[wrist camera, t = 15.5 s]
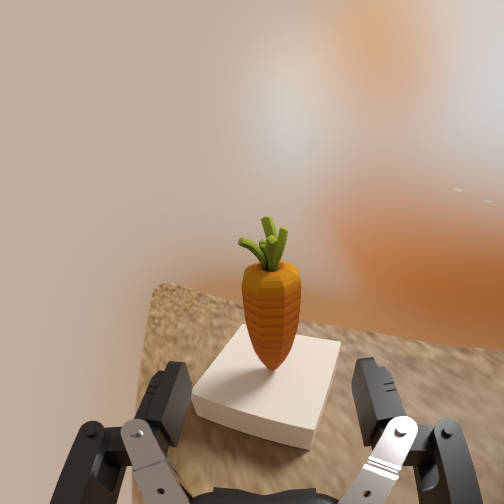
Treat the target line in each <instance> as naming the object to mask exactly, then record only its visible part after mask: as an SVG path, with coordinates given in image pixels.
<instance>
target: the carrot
mask: <svg viewBox="0 0 504 504" xmlns="http://www.w3.org/2000/svg"><path fill="white" fill-rule="evenodd" d="M261 221H262V225H263V228H264V232H265V235H266V238H267V239H266V241H265V240H260V241H259V246H257V244H256V243H255V242H253V241H251V240H249V239H246V238H240V239H239V241H238V244H239V245H240V246H243V247H245V248H247V249H249V250H250V251H251V252H252V253H253V254H254V255H255V256H256V257H257V258H258V259H259V261H260V262H258V263H255V264H253V265H251V266H248V268H246V269H245V272H244V277H243V282H242V294H243V304H244V313H245V319H246V326H247V330H248V333H249V337H250V340H251V343H252V346H253V349H254V351H255V353H256V354H257V356H258V358H259V359H260V361H261V362H262V363H263V364H264V365H265V366H266V367H267V368H268V369H270V370H276V369H277V368H279V366H280V365H281V364H282V363H283V362H284V361H285V359H286V358H287V356H288V354H289V352H290V351H291V348H292V345H293V342H294V339H295V335H296V331H297V328H298V321H299V312H300V299H301V281H300V276H299V272H298V268H296V267H295V266H294V265H292V264H288V263H286V262H284V261H281V260H280V259H281V257H282V254H283V251H284V248H285V244H286V240H287V233H288V231H287V229H286V228H285V227H280V231H279V235H278V237H277V232H276V228H275V225H274V222H273V219H272V218H271V217H267V216H266V217H264V218H262V219H261Z"/></svg>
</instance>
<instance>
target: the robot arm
mask: <svg viewBox="0 0 504 504" xmlns="http://www.w3.org/2000/svg"><path fill="white" fill-rule="evenodd" d="M352 393H353V397H354V402H355V406H356V410H357V415H358V419H359V424H360V429H361V433H362V438H363V443H364V447H366V446H372V451H373V452H372V453H371V455H370V457H369V458H368V460H367V461H366V463H365V465H364V466H363V468H362V469H361V471H360V472H359V474H358V475H357V477H356V478H355V480H354V481H353V483H352V484H351V486H350V487H349V488H348V490H347V491H346V493H345V494H344V495H343V497H342V498H341V499H340V501H339V500H337V499H336V498H333V497H331V496H328V495H325V494H321V493H316V488H311V489H296V490H287V491H283V492H279V493H275V494H270V495H259V494H255V493H251V492H247V491H243V490H239V489H228V488H217V487H214V489H213V492H209V493H204V494H201V495H198V496H196V497H194V496H193V495H192V493H191V492H190V490H189V489H188V487H187V486H186V485H185V483H184V482H183V480H182V478H181V477H180V475H179V473H178V471H177V470H176V468H175V466H174V464H173V463H172V461H171V459H170V457H169V455H168V453H167V451H168V448H169V446H171V447H177V444H178V441H179V437H180V433H181V430H182V426H183V423H184V419H185V416H186V412H187V409H188V405H189V402H190V398H191V395H192V382H191V379H190V376H189V373H188V369H187V366H186V364H185V362H174V361H169V362H168V364H167V366H166V368H165V371H158V372H157V373H156V374H155V375H154V376H153V377H152V379H151V381H150V383H149V385H148V388H147V390H146V394H145V395H144V397H143V399H142V402H141V404H140V406H139V409H138V411H137V413H136V416H135V418H134V419H132V420H129V421H127V422H126V423H125V424H124V425H123V426H122V427H111V428H104V427H103V425H102V424H101V423H99V422H97V421H89V422H86V423H85V424H83V425H82V426H81V428H80V429H79V432H78V434H77V436H76V439H75V441H74V443H73V445H72V448H71V450H70V453H69V455H68V457H67V460H66V462H65V465H64V467H63V470H62V472H61V474H60V477H59V480H58V482H57V485H56V488H55V490H54V493H53V496H52V499H51V501H50V504H116V503H117V500H118V496H119V492H120V488H121V484H122V481H123V478H124V474H125V471H126V467H127V466H133V467H134V471H133V475H134V478H135V480H136V482H137V485H138V487H139V489H140V491H141V493H142V495H143V497H144V499H145V501H146V503H147V504H383V503H384V501H385V499H386V498H387V496H388V494H389V492H390V491H391V489H392V487H393V485H394V484H395V482H396V480H397V478H398V476H399V473H400V472H399V470H400V468H401V466H413V469H414V474H415V480H416V485H417V492H418V498H419V504H483V501H482V497H481V492H480V488H479V484H478V480H477V476H476V473H475V469H474V466H473V462H472V459H471V456H470V452H469V449H468V446H467V443H466V440H465V437H464V434H463V432H462V429H461V426H460V424H459V423H458V422H457V421H456V420H454V419H450V418H446V419H442V420H440V421H439V422H438V423H437V424H436V425H419V424H416V423H415V422H414V421H413V420H412V419H410V418H408V417H407V416H406V413H405V410H404V408H403V405H402V402H401V399H400V397H399V394H398V391H397V390H396V386H395V384H394V381H393V378H392V376H391V373H390V372H389V371H388V370H387V369H386V368H385V367H384V366H383V367H377V365H376V362H375V360H374V358H373V357H370V358H361V359H357V361H356V365H355V370H354V374H353V378H352Z"/></svg>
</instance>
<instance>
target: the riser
mask: <svg viewBox="0 0 504 504" xmlns="http://www.w3.org/2000/svg"><path fill="white" fill-rule="evenodd" d="M340 345H341V342H338V341H332V340H325V339H319V338H313V337H307V336H302V335H295V339H294V342H293V345H292V348H291V351H290V352H289V354H288V356H287V358H286V359H285V361H284V362H283V363H282V364H281V365H280V366H279V368H277V369H276V370H270V369H268V368H267V367H266V366H265V365H264V364H263V363H262V362H261V361H260V359H259V358H258V356H257V354H256V353H255V351H254V349H253V346H252V343H251V340H250V337H249V333H248V330H247V326H246V325H245V324H242V325H241V327H240V328H239V329H238V331H237V332H236V333H235V335H234V336H233V337H232V338H231V340H230V341H229V342H228V344H227V345H226V346H225V348H224V349H223V350H222V351H221V353H220V354H219V355H218V357H217V358H216V359H215V360H214V362H213V363H212V364H211V365H210V367H209V368H208V369H207V370H206V372H205V373H204V374H203V376H202V377H201V378H200V379H199V381H198V382H197V383H196V384H195V386H194V387H193V388H192V395H191V400H192V403H193V405H194V408H195V411H196V414H197V415H198V416H200V417H203V418H205V419H208V420H210V421H213V422H215V423H218V424H221V425H224V426H226V427H229V428H232V429H235V430H238V431H241V432H244V433H247V434H250V435H253V436H257V437H260V438H263V439H267V440H270V441H274V442H278V443H282V444H286V445H290V446H294V447H298V448H302V449H307V450H310V449H311V446H312V444H313V441H314V438H315V435H316V432H317V429H318V427H319V424H320V421H321V418H322V415H323V412H324V408H325V405H326V402H327V399H328V396H329V392H330V389H331V386H332V382H333V379H334V375H335V371H336V368H337V363H338V357H339V351H340Z"/></svg>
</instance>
